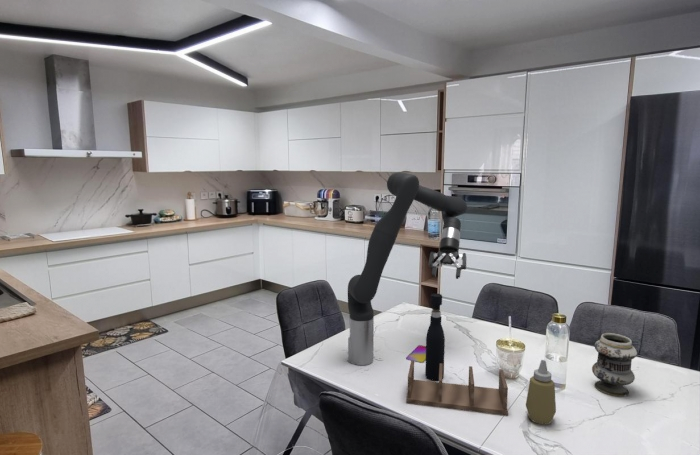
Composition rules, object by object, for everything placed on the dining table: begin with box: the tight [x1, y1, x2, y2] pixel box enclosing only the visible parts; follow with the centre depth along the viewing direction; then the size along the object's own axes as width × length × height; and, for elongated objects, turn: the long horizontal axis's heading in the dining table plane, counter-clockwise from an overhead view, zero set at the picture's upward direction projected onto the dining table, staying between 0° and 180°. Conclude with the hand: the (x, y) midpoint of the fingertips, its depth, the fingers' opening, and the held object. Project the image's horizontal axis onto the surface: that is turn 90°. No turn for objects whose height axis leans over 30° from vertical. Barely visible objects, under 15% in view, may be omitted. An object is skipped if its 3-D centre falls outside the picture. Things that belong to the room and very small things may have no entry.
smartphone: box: [405, 344, 426, 364], centre depth 165 cm, size 7×1×15 cm
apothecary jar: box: [591, 332, 638, 397], centre depth 136 cm, size 12×12×18 cm
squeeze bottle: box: [525, 359, 557, 425], centre depth 119 cm, size 8×8×18 cm
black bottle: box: [424, 292, 446, 382], centre depth 144 cm, size 6×6×30 cm
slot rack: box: [405, 360, 509, 417], centre depth 131 cm, size 30×13×8 cm, turn 77°
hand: (445, 277), depth 157 cm, fingers open, 8 cm apart
